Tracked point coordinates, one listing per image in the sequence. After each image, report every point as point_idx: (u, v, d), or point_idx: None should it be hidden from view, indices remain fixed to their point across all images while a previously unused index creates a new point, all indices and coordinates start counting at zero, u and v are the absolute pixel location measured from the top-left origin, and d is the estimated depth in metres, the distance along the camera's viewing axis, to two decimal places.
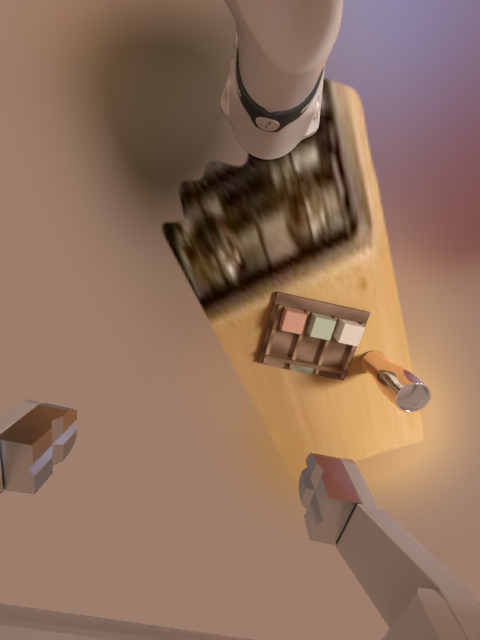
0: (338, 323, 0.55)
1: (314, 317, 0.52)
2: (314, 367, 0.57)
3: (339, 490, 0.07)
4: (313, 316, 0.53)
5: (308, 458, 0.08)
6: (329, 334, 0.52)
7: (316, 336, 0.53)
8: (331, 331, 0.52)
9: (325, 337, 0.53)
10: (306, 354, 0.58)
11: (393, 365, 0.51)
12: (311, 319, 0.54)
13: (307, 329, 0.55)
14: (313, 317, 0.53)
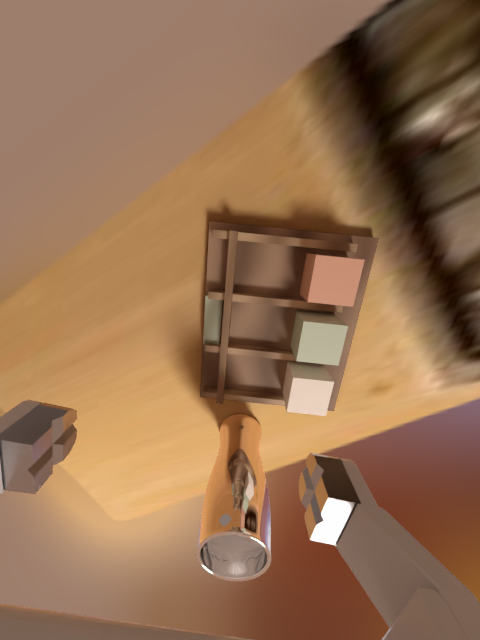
0: (317, 367, 0.29)
1: (340, 322, 0.25)
2: (223, 342, 0.27)
3: (339, 490, 0.07)
4: (337, 319, 0.26)
5: (308, 458, 0.08)
6: (309, 357, 0.25)
7: (304, 334, 0.25)
8: (316, 360, 0.25)
9: (302, 351, 0.25)
10: (244, 322, 0.29)
11: (265, 480, 0.27)
12: (327, 317, 0.27)
13: (303, 313, 0.27)
14: (337, 320, 0.26)
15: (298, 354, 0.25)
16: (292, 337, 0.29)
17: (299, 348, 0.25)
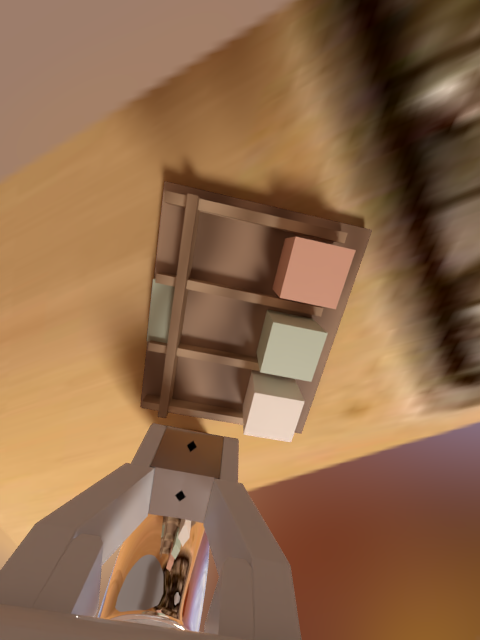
0: (286, 381, 0.24)
1: (319, 328, 0.20)
2: (171, 341, 0.21)
3: (202, 466, 0.07)
4: (315, 324, 0.21)
5: None
6: (276, 369, 0.20)
7: (272, 338, 0.19)
8: (285, 373, 0.20)
9: (268, 361, 0.20)
10: (201, 318, 0.23)
11: None
12: (302, 320, 0.21)
13: (274, 313, 0.22)
14: (315, 325, 0.21)
15: (263, 364, 0.20)
16: (259, 342, 0.23)
17: (265, 356, 0.20)
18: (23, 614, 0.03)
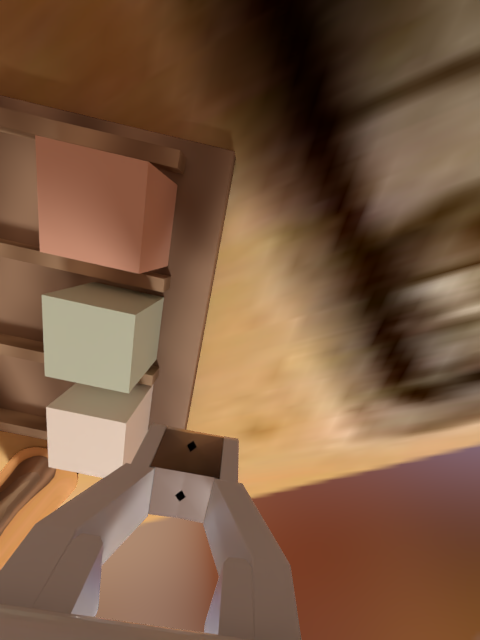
0: None
1: (137, 307, 0.12)
2: None
3: (202, 466, 0.07)
4: (144, 303, 0.13)
5: None
6: (68, 372, 0.13)
7: (48, 322, 0.12)
8: (84, 379, 0.13)
9: (53, 359, 0.12)
10: (4, 293, 0.16)
11: None
12: (132, 297, 0.14)
13: (92, 286, 0.14)
14: (138, 304, 0.13)
15: (46, 363, 0.12)
16: None
17: (46, 351, 0.12)
18: (23, 614, 0.03)
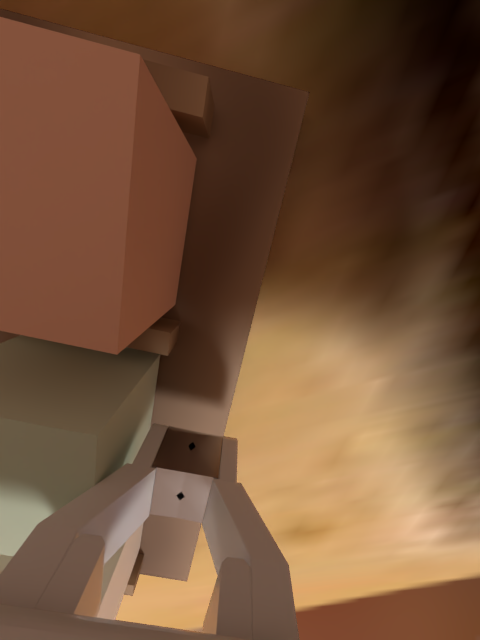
0: None
1: (106, 401, 0.06)
2: None
3: (201, 465, 0.07)
4: (122, 382, 0.07)
5: None
6: None
7: None
8: None
9: None
10: None
11: None
12: (101, 364, 0.07)
13: (28, 343, 0.08)
14: (111, 388, 0.07)
15: None
16: None
17: None
18: (23, 614, 0.03)
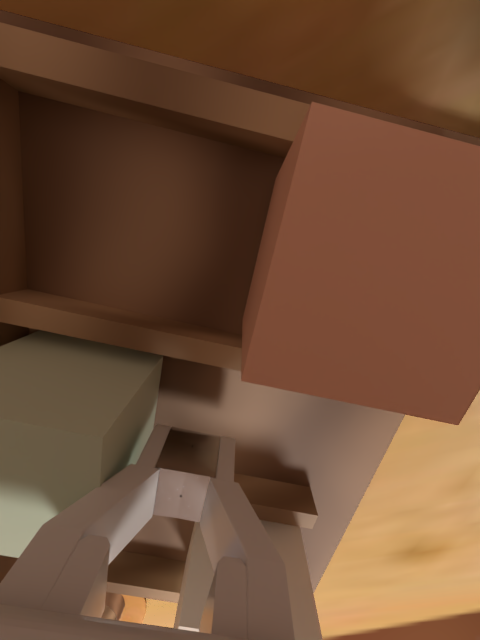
0: (277, 531, 0.10)
1: (111, 403, 0.06)
2: None
3: (198, 465, 0.07)
4: (127, 384, 0.07)
5: None
6: None
7: None
8: (2, 547, 0.06)
9: None
10: None
11: None
12: (104, 366, 0.07)
13: (31, 344, 0.08)
14: (115, 389, 0.07)
15: None
16: None
17: None
18: (23, 614, 0.03)
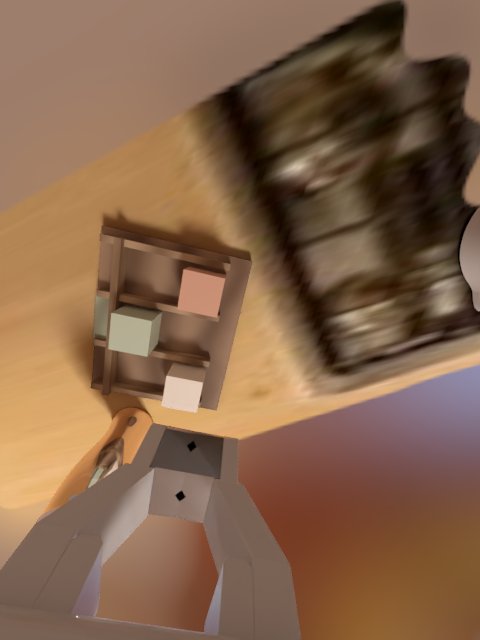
0: (198, 369, 0.32)
1: (151, 317, 0.28)
2: (108, 338, 0.30)
3: (202, 466, 0.07)
4: (154, 315, 0.29)
5: None
6: (119, 347, 0.28)
7: (112, 324, 0.27)
8: (126, 350, 0.28)
9: (113, 341, 0.28)
10: None
11: None
12: (147, 312, 0.29)
13: (127, 307, 0.29)
14: (151, 316, 0.28)
15: (109, 343, 0.28)
16: None
17: (110, 337, 0.27)
18: (23, 614, 0.03)
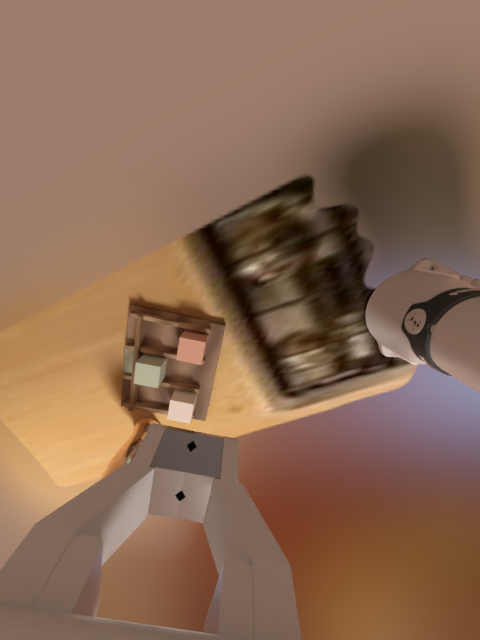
0: (191, 394, 0.48)
1: (160, 363, 0.44)
2: (133, 375, 0.46)
3: (202, 466, 0.07)
4: (162, 361, 0.45)
5: None
6: (140, 382, 0.44)
7: (136, 369, 0.43)
8: (145, 384, 0.44)
9: (136, 378, 0.44)
10: None
11: None
12: (158, 359, 0.46)
13: (145, 355, 0.46)
14: (160, 362, 0.45)
15: (134, 380, 0.44)
16: None
17: (134, 376, 0.44)
18: (23, 614, 0.03)
